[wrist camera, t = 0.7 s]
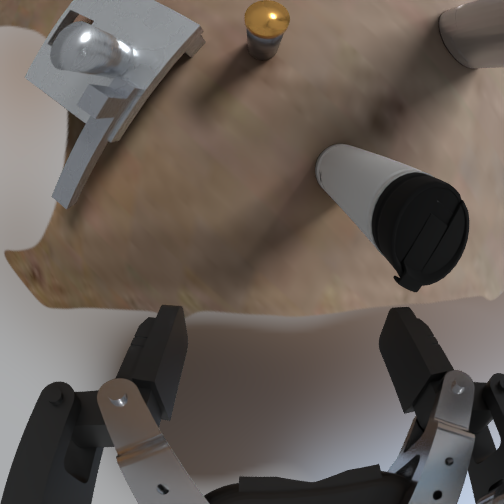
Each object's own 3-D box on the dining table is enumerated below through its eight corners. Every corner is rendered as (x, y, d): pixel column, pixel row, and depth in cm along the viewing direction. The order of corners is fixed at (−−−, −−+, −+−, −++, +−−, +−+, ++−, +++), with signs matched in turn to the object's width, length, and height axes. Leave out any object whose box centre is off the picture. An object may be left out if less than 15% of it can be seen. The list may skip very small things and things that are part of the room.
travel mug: (303, 182, 32) (367, 271, 14) (330, 133, 29) (433, 161, 11) (347, 206, 33) (435, 306, 15) (374, 160, 30) (491, 220, 12)
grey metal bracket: (112, -10, 20) (54, -49, 7) (209, 41, 24) (179, -8, 12) (26, 128, 27) (-46, 146, 14) (102, 190, 32) (34, 233, 19)
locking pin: (260, 28, 24) (264, -7, 15) (284, 46, 25) (298, 17, 16) (240, 48, 25) (235, 19, 16) (264, 66, 26) (270, 43, 17)
